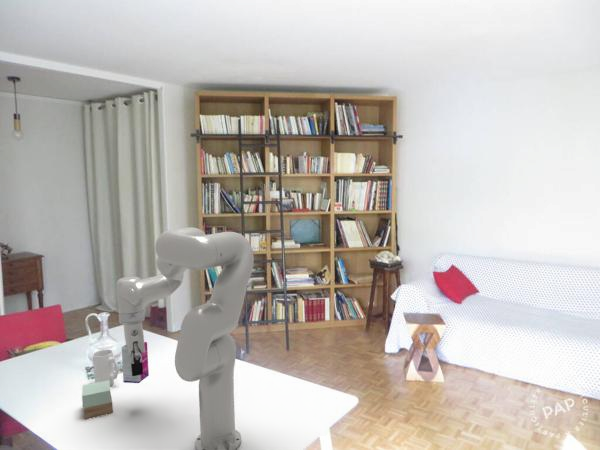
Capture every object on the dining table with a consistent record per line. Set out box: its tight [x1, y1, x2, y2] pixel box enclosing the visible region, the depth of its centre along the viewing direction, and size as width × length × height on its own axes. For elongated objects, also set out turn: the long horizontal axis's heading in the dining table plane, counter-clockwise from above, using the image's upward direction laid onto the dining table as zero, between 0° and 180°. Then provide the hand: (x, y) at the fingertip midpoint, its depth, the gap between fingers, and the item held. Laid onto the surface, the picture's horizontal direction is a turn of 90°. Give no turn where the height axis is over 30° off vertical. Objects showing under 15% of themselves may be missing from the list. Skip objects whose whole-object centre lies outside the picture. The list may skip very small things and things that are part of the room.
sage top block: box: [81, 380, 112, 409], centre depth 140 cm, size 8×8×4 cm
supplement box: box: [121, 341, 150, 384], centre depth 138 cm, size 6×6×12 cm
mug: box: [92, 348, 120, 387], centre depth 157 cm, size 10×7×12 cm, turn 70°
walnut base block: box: [83, 391, 114, 420], centre depth 140 cm, size 8×8×4 cm
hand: (135, 369), depth 138 cm, fingers closed on supplement box, 7 cm apart
